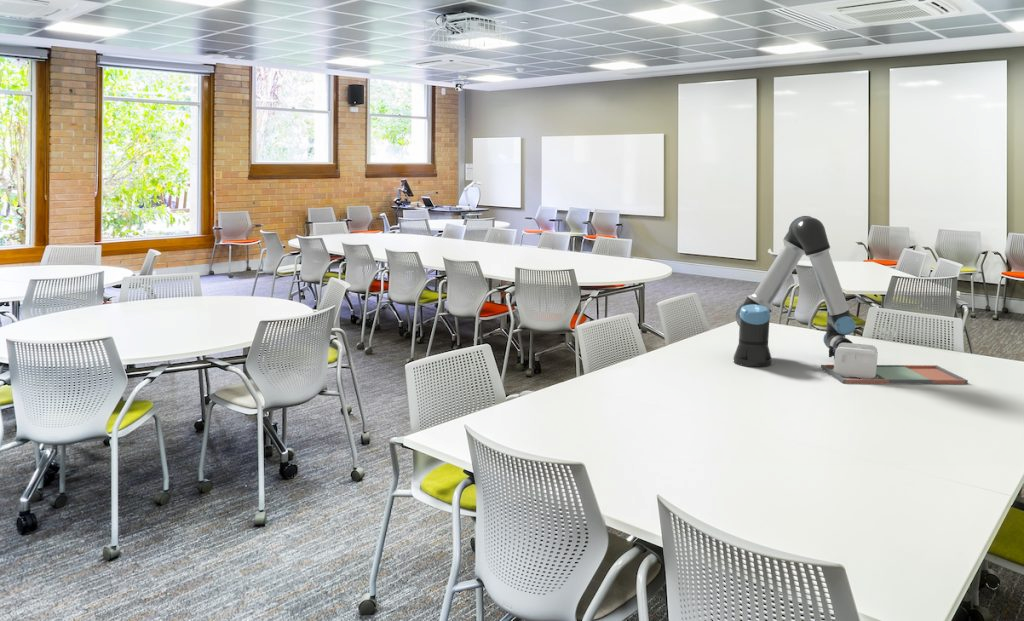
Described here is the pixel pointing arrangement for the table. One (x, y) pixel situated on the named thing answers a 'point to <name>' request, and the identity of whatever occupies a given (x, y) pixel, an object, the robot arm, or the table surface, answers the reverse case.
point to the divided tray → (905, 375)
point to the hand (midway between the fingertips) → (859, 359)
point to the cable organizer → (856, 360)
